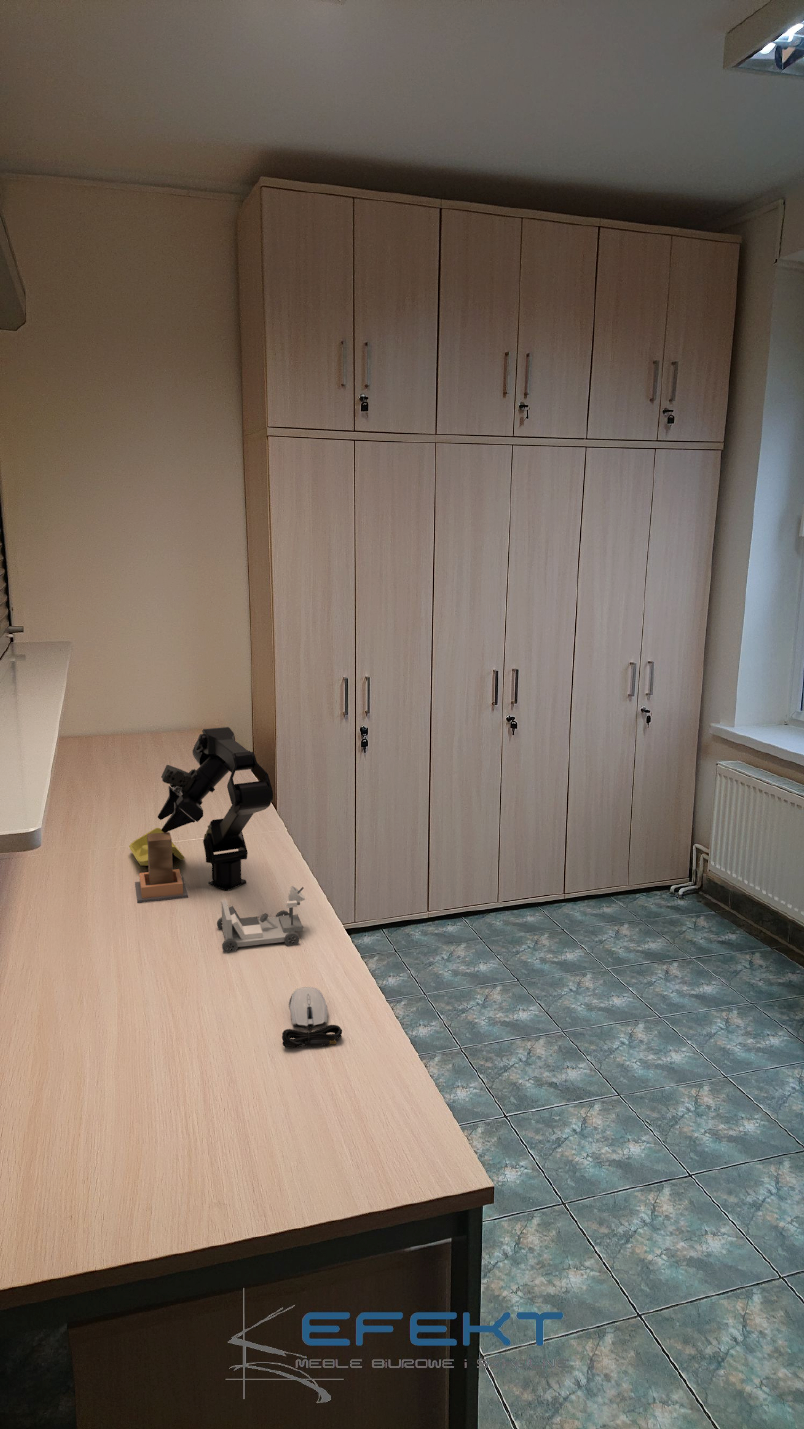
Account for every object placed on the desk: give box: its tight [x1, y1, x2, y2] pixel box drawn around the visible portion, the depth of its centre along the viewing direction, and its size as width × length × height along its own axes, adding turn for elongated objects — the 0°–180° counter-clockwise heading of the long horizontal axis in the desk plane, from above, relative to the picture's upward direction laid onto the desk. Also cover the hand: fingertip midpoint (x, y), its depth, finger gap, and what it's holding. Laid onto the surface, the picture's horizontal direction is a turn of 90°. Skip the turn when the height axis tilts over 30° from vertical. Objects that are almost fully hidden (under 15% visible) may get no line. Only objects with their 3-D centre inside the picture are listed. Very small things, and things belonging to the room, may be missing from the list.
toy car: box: [216, 885, 306, 954], centre depth 191 cm, size 18×10×12 cm
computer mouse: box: [281, 986, 343, 1049], centre depth 160 cm, size 10×18×4 cm, turn 12°
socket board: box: [134, 868, 189, 904], centre depth 213 cm, size 11×11×3 cm
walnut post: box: [146, 831, 174, 885], centre depth 212 cm, size 5×5×12 cm
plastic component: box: [128, 827, 186, 867], centre depth 230 cm, size 20×7×10 cm
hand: (160, 824), depth 217 cm, fingers open, 9 cm apart
